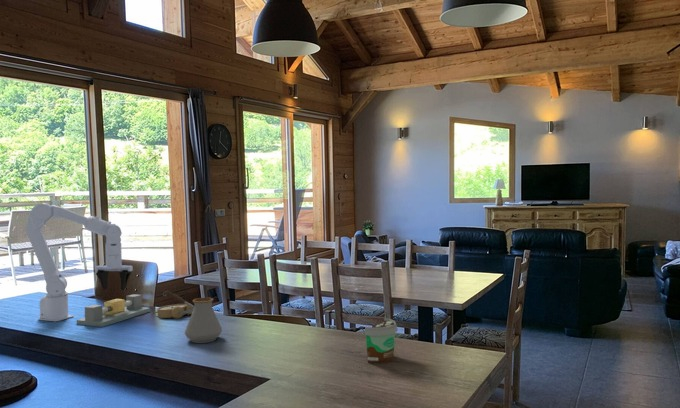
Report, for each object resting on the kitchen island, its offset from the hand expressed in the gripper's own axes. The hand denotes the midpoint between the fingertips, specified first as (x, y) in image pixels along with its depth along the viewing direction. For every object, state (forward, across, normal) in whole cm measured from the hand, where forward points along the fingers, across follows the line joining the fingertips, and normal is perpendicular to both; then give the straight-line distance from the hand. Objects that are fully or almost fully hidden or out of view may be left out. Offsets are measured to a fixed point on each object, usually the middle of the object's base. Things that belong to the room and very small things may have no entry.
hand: (114, 289), depth 197 cm
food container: (+10, +107, -50) cm, 118 cm away
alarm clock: (+10, +26, -3) cm, 28 cm away
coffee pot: (+10, +44, -32) cm, 56 cm away
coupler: (+8, +4, -7) cm, 12 cm away
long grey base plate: (+9, +4, -7) cm, 13 cm away
